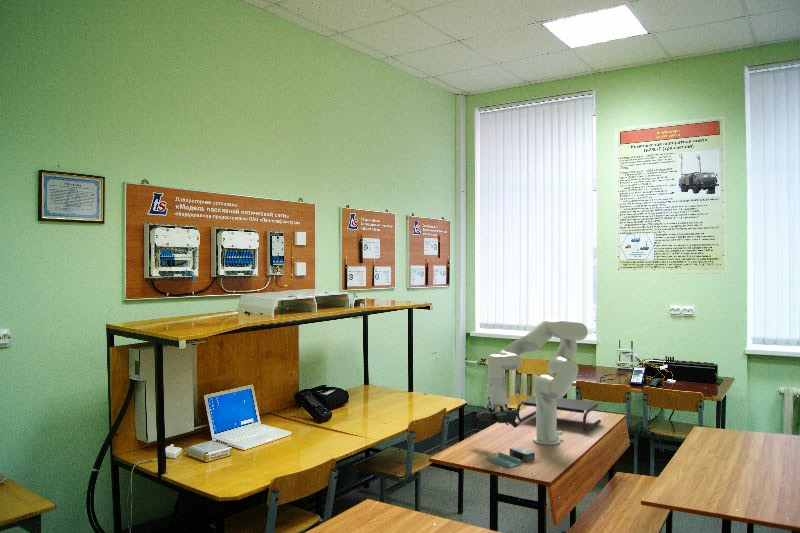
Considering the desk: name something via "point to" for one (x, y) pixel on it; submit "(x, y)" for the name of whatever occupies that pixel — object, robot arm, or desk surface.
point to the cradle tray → (504, 460)
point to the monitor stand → (564, 408)
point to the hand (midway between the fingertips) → (497, 420)
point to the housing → (522, 454)
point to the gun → (501, 417)
